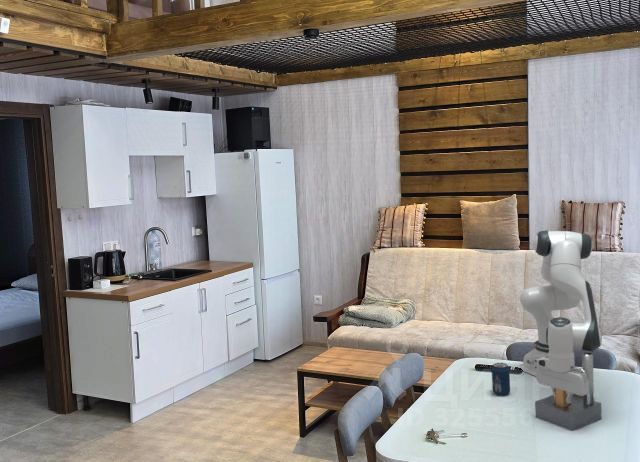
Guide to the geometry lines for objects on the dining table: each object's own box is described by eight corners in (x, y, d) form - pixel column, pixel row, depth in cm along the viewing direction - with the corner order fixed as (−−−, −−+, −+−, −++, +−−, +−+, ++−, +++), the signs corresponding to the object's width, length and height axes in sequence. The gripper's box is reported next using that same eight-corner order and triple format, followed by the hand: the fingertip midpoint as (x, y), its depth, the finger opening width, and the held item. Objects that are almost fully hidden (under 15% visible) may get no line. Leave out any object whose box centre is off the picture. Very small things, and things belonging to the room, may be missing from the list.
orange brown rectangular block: (556, 411, 236) (555, 385, 235) (561, 409, 237) (561, 383, 236) (563, 414, 233) (562, 387, 232) (568, 412, 235) (568, 385, 234)
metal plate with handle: (535, 417, 240) (533, 353, 237) (564, 406, 248) (562, 345, 246) (572, 430, 226) (570, 363, 224) (601, 419, 234) (600, 354, 232)
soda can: (508, 390, 269) (507, 362, 267) (511, 396, 262) (510, 367, 261) (491, 390, 269) (490, 362, 268) (494, 396, 263) (493, 367, 261)
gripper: (592, 368, 226) (593, 406, 227) (544, 355, 244) (545, 391, 245) (580, 372, 223) (581, 411, 224) (532, 359, 240) (534, 395, 242)
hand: (562, 400), depth 235 cm, fingers closed on orange brown rectangular block, 3 cm apart
